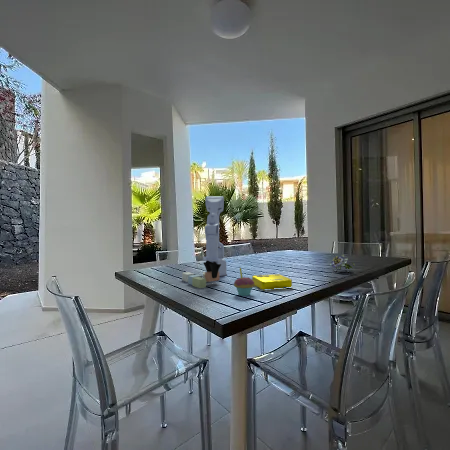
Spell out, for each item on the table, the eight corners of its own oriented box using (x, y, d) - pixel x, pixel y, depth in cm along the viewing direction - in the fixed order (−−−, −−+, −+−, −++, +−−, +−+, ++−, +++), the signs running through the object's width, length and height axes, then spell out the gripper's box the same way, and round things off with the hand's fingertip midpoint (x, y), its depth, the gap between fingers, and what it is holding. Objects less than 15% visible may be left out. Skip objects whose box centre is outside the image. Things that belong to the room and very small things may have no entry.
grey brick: (182, 280, 152) (182, 272, 152) (188, 279, 154) (188, 272, 154) (187, 282, 147) (187, 274, 147) (193, 281, 149) (193, 273, 149)
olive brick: (192, 286, 139) (192, 277, 139) (198, 285, 141) (198, 276, 141) (199, 288, 134) (199, 279, 134) (206, 287, 136) (205, 278, 136)
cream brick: (203, 279, 154) (203, 272, 154) (209, 279, 154) (209, 271, 154) (203, 282, 148) (203, 274, 148) (210, 282, 148) (210, 274, 148)
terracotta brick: (215, 278, 145) (215, 270, 145) (219, 280, 142) (219, 271, 142) (205, 280, 142) (205, 272, 142) (208, 281, 139) (208, 273, 139)
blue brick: (198, 282, 147) (197, 274, 147) (202, 283, 145) (202, 275, 145) (188, 284, 143) (188, 276, 143) (192, 285, 141) (192, 277, 140)
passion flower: (336, 280, 174) (324, 263, 179) (347, 275, 179) (336, 258, 184) (348, 272, 165) (335, 254, 170) (360, 267, 170) (348, 250, 175)
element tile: (262, 291, 129) (262, 280, 129) (250, 284, 143) (250, 274, 143) (293, 289, 133) (293, 278, 133) (279, 282, 147) (279, 272, 147)
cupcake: (240, 298, 117) (240, 268, 117) (230, 293, 125) (230, 265, 124) (258, 295, 121) (258, 266, 121) (247, 290, 129) (247, 263, 128)
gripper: (197, 248, 146) (197, 275, 146) (212, 251, 134) (213, 280, 134) (209, 247, 150) (210, 274, 150) (225, 250, 138) (225, 278, 138)
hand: (212, 277), depth 142 cm, fingers closed on terracotta brick, 3 cm apart
